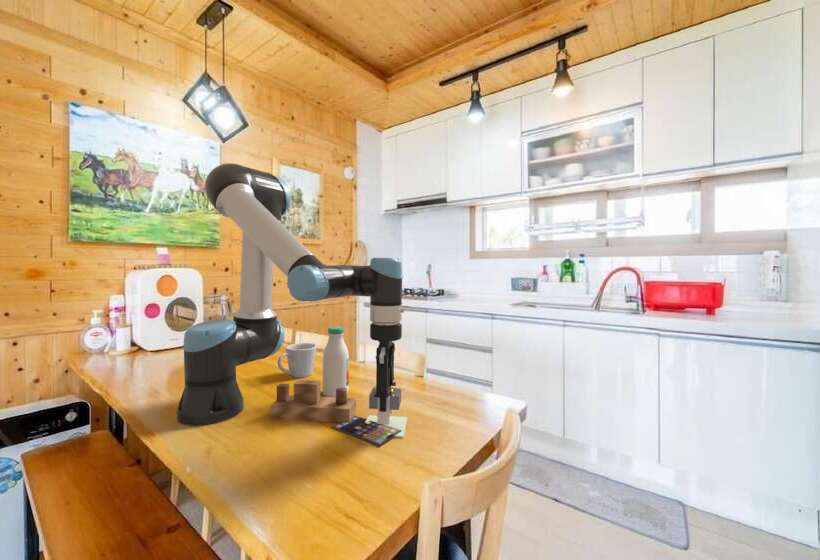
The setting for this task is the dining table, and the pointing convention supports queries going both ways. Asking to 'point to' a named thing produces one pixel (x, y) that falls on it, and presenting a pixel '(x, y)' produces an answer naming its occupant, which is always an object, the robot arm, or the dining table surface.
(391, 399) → the lever cap
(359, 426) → the smartphone
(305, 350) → the mug
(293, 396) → the wooden peg board
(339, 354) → the milk bottle
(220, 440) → the dining table surface
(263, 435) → the dining table surface
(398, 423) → the thin cream card
